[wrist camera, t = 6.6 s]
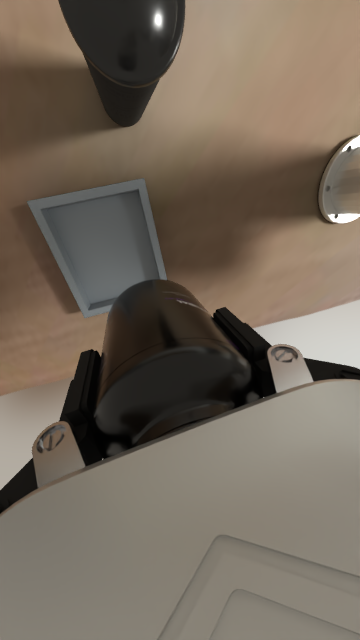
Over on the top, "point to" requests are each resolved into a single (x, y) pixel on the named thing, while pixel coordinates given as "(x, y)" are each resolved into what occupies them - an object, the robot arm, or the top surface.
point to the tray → (101, 241)
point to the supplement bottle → (164, 368)
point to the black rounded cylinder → (126, 48)
